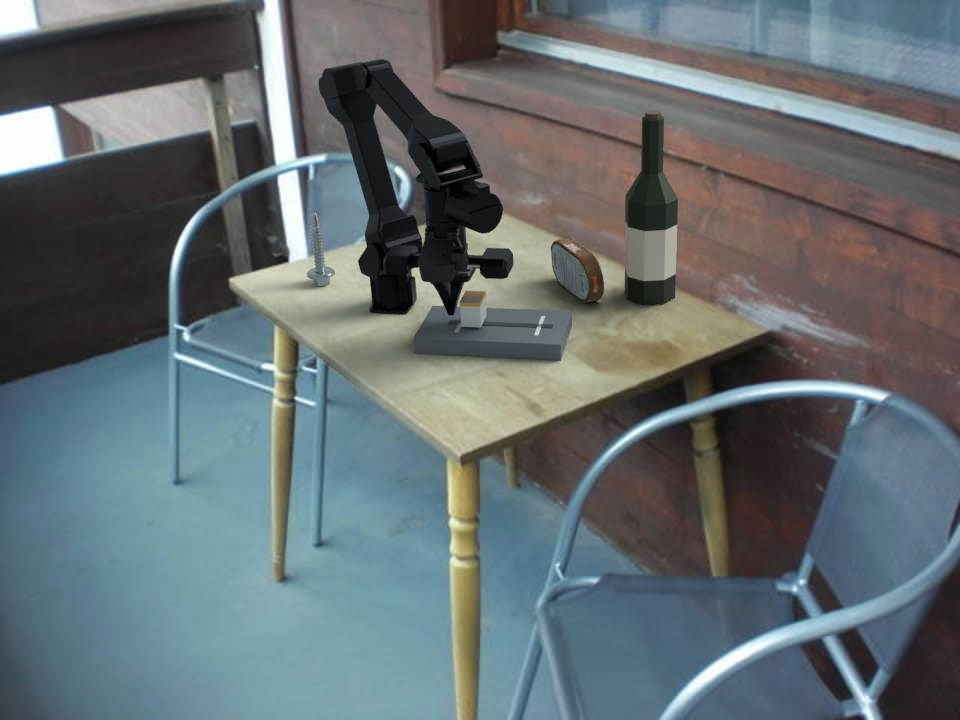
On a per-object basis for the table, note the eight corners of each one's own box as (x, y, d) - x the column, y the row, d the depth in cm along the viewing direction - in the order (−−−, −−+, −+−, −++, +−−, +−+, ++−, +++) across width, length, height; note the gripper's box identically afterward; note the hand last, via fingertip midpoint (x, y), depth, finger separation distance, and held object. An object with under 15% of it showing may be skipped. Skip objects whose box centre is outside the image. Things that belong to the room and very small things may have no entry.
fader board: (414, 353, 171) (413, 337, 170) (433, 320, 182) (432, 305, 180) (560, 360, 167) (560, 343, 166) (571, 325, 177) (571, 310, 176)
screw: (317, 291, 195) (302, 283, 198) (341, 283, 197) (326, 276, 201) (308, 218, 189) (293, 212, 192) (333, 211, 191) (318, 205, 195)
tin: (605, 307, 183) (605, 258, 179) (588, 311, 182) (587, 261, 178) (565, 276, 196) (564, 229, 192) (548, 279, 195) (547, 232, 191)
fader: (460, 326, 172) (459, 302, 170) (467, 314, 176) (465, 290, 174) (481, 327, 171) (479, 303, 169) (487, 315, 175) (485, 291, 173)
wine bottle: (641, 309, 181) (643, 122, 168) (614, 291, 188) (615, 110, 175) (685, 298, 184) (691, 114, 171) (657, 281, 191) (661, 102, 178)
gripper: (367, 233, 162) (377, 334, 169) (497, 237, 158) (501, 339, 165) (389, 208, 171) (398, 304, 178) (512, 210, 168) (516, 308, 174)
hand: (451, 314), depth 174 cm, fingers closed
